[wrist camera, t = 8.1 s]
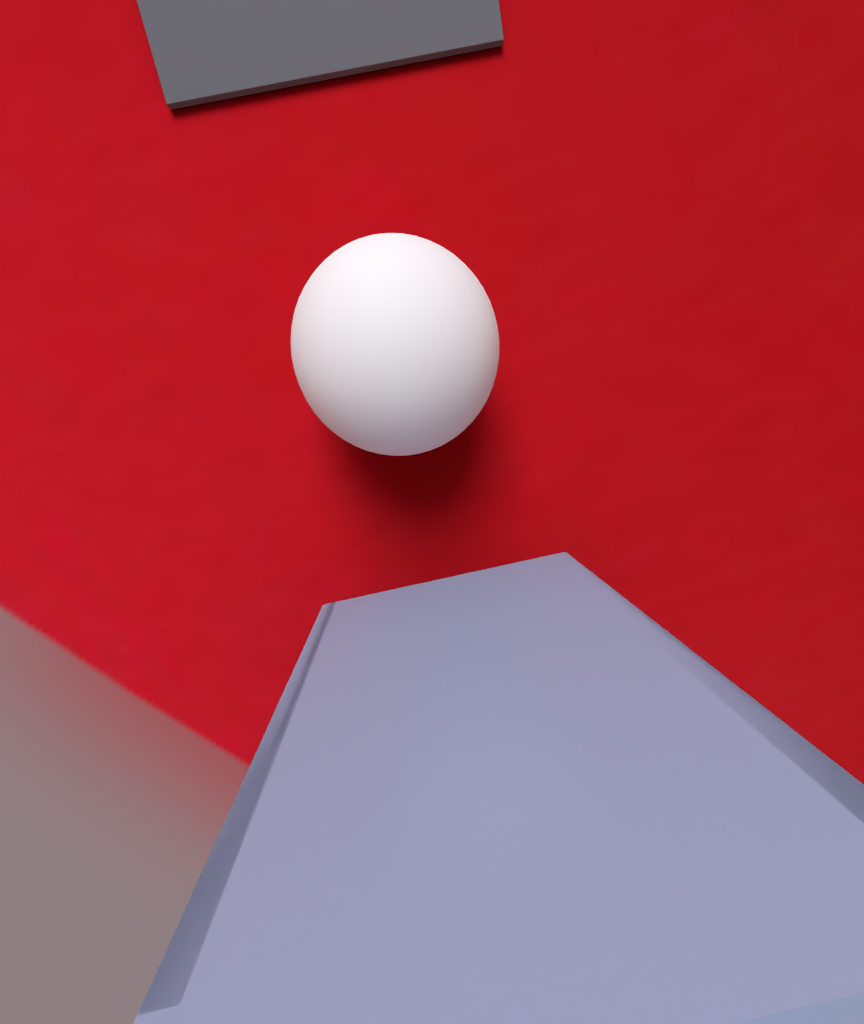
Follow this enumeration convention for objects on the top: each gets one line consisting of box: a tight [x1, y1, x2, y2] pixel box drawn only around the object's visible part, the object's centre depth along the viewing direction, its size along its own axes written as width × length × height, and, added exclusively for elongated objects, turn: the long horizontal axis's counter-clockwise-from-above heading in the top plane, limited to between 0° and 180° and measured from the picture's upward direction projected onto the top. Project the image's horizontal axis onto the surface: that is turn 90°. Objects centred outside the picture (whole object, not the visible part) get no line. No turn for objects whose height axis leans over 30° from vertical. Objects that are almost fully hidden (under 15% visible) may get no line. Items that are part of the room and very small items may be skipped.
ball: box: [291, 233, 499, 456], centre depth 10 cm, size 5×5×5 cm
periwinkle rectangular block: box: [133, 552, 864, 1024], centre depth 8 cm, size 10×7×9 cm
